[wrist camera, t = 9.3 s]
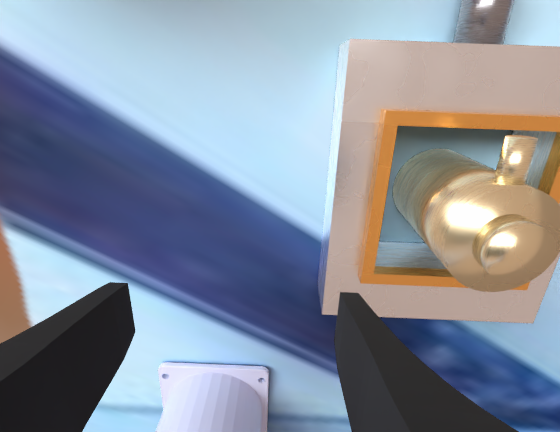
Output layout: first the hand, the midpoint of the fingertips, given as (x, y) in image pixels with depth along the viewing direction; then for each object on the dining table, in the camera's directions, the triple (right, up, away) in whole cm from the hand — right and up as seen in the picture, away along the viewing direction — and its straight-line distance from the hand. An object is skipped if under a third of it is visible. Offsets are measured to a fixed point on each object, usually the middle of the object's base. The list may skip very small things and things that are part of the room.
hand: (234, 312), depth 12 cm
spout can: (+10, +5, +8) cm, 14 cm away
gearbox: (+10, +6, +7) cm, 14 cm away
